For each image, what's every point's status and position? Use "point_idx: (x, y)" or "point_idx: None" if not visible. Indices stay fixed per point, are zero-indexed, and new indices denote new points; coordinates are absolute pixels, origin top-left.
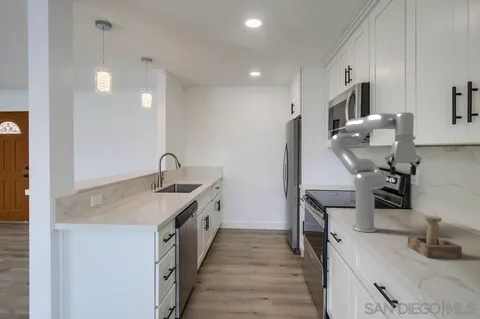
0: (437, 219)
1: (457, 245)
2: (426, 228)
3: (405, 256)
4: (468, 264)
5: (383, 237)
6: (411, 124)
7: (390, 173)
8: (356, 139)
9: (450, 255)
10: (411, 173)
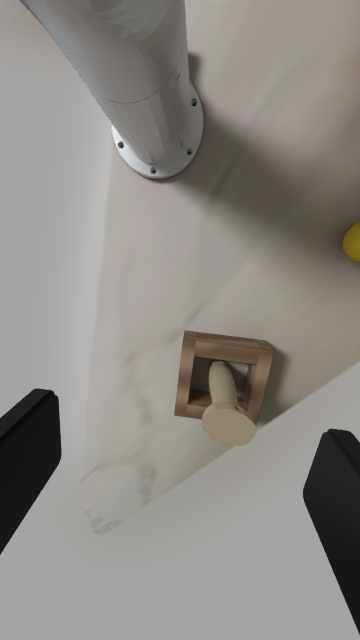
0: (228, 442)
1: (255, 418)
2: (350, 230)
3: (135, 384)
4: None
5: (169, 242)
6: None
7: (27, 396)
8: None
9: None
10: (326, 467)
